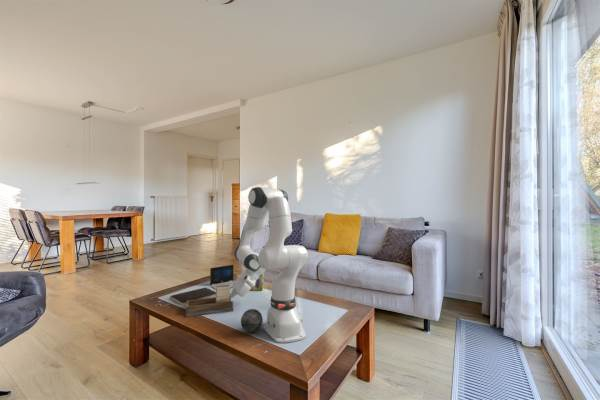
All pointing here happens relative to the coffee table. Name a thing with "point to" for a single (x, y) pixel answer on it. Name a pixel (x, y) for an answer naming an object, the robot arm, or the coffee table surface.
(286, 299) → the robot arm
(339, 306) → the coffee table surface
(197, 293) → the hardcover book
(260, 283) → the chalk box
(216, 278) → the laptop
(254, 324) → the decorative stone
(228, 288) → the block
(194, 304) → the chute
